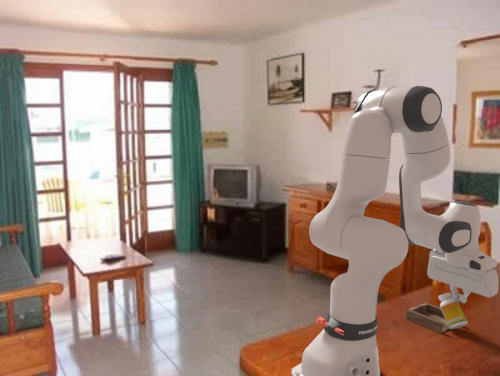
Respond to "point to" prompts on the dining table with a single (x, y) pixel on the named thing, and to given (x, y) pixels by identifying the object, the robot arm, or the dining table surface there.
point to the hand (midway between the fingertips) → (459, 301)
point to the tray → (428, 317)
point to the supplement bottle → (452, 311)
